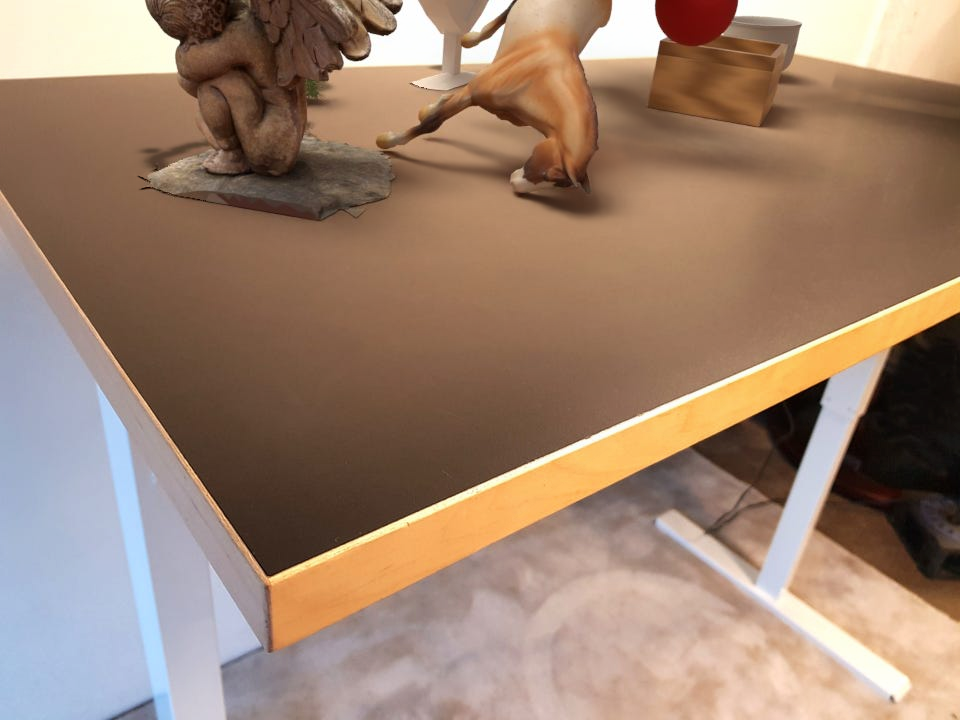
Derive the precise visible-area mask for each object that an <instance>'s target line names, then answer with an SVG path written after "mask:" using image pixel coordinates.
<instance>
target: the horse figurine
mask: <svg viewBox="0 0 960 720" xmlns="http://www.w3.org/2000/svg"><path fill="white" fill-rule="evenodd" d="M612 12H613V0H512V1H511V2H510V4H509V5H508V6H507V8H505V10H503V11H502V12H501V13H500V14H499V15H498V16H497V17H495V18H494V19H493V20H491V21H490V22H488V23H486V24H485V25H484V26H483V27H482V28H481V30H480V31H479V32H478V31H470V32H468V33H466V34H465V35H464V36H463V37H462V39H461V41H460V42H461V46H462V48H464V49H467V50H468V49H471V48H474V47H478V46H479V44H480V43H482V42H484V41H487V40H489V39H491V38H492V37H493V35H494V34H496V33H497V32H498V30H499V29H500V28H501V27H502V26H504V27H503V31H502V35H501V37H500V38H501V39H500V40H499V43H498V47H497V50H496V54H495V56H494V57H493V59H492V62H491V63H490V64H489V65H486V66H485V67H484V68H482V69H480V70H479V71H478V72H476V73H477V74H476V75H475V76H474V77H473V78H472V80H471V81H470V82H469V83H468V84H465V86H464V87H462V88H461V89H460V90H458V91H457V92H456V93H443V94H441V95H440V97H439V98H438V100H437V101H436V102H435V103H429V104H428V105H426V106H424V107H422V108H421V109H420V110H419V111H418V116H417V117H418V121H419V124H418V125H415V126H412V127H410V128H408V129H405V130H401V131H399V132H397V133H395V132H394V131H389V130H388V131H382V132H381V133H380V134H379V135H378V136H376V139H375V145H376V147H377V148H379V149H381V150H389V149H393V148H395V147H396V146H404V145H407V144H409V143H410V142H411V141H413V140H414V139H417V138H418V137H420V136H423V135H427V134H432V133H434V132H436V131H438V130H439V129H440V127H441V126H442V125H443V124H444V123H445V122H446V121H447V120H449V119H451V118H453V117H454V116H456V115H457V114H459V113H461V112H463V111H464V110H466V109H468V108H471V107H479V108H481V109H482V110H484V111H486V112H488V113H489V114H492V115H494V116H496V118H497V119H499V120H501V121H505V122H506V121H507V122H509V123H510V124H511V125H513V126H515V127H519V128H522V127H523V128H524V127H531V128H533V129H534V130H536V131H538V132H539V133H541V134H542V135H543V136H544V138H545V139H543V140H542V141H540V142H538V144H536V145H535V146H534V147H533V149H532V152H531V155H530V156H529V158H528V159H527V160H526V161H525V163H524V165H522V167H521V168H519V169H515V170H514V172H512V173H511V174H510V180H509V184H510V186H511V187H512V189H513V190H514V191H515V192H517V193H519V194H527V193H529V192H533V191H536V190H542V189H551V188H561V189H562V188H563V189H568V188H572V187H573V186H574V188H575V189H578V188H579V185H578V183H579V184H580V186H581V188H582V189H583V191H584V192H585V193H586V194H587V195H588V196H590V195H592V191H591V189H592V188H591V181H590V178H589V174H588V168H589V164H590V162H591V160H592V158H593V156H594V155H595V154H596V152H597V151H599V148H600V147H599V143H598V140H599V136H600V135H599V119H598V110H597V109H598V108H597V105H596V102H595V100H594V96H593V93H592V91H591V88H590V85H589V83H588V79H587V76H586V73H585V68H584V65H583V63H582V61H581V59H580V55H581V54H582V53H583V51H584V49H585V48H586V46H587V45H588V43H589V42H590V40H591V39H592V37H593V36H594V35H595V33H596V32H597V31H598V30H599V29H602V28H605V27H606V26H607V25H608V23H609V22H610V19H611V16H612Z"/></svg>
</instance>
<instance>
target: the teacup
mask: <svg viewBox="0 0 960 720" xmlns="http://www.w3.org/2000/svg"><path fill="white" fill-rule="evenodd" d="M802 26H803V23H802V22H801V21H799V20H794V19H789V18H783V17H774V16H760V15H759V16H757V15H735V16H734V19H733V21H732V22H731V24H730V26H729V27H728V28H727V30H726V31H725V32H724V33H723V34H722V35H725V36H732V37H739V38H746V39H753V40H760V41H767V42H774V43H781V44H788V48H787V52H786V56H785V59H784V63H783V67H782V71H781V73H782V72H783V71H785V70H786V69H788V68H789V66H790V65H791V63H792V61H793V58H794V55H795V52H796V48H797V44H798V40H799V34H800V31H801V28H802Z"/></svg>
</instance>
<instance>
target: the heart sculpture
mask: <svg viewBox="0 0 960 720" xmlns="http://www.w3.org/2000/svg"><path fill="white" fill-rule="evenodd" d="M417 1H418V3H419V5H420V6H421V8H422V11H423V12H424V14H425V15H426V18H428V20H430V22H431V24H433V25H434V27H435V28H436V29H437V31H438V32H439V34H440V35H443V44H442V45H443V46H442V61H441V62H442V63H441V73H438V74H435V75H431V76H428V77H427V76H426V77H424V78H420V79H418V80H414V81H411V82H412V83H413V84H415V85H418V86H419V87H418V86H417V87H418V88H421V87H424V88H423V89H426V88H427V90H435V91H448V90H451V89H455V88H458V87H462V86H464V85H465V86H466V85H467V84H468V83H469V82H470V81H471V80H472V78H473V77H474V76H475V75H476V74H477V73H478V72H476V71H475V72H474V71H466V70H461V65H462V51H463V47H462V46H461V42H460V41H461V39H462V37H463V36H464V35H465V34H466V33H468V32H472V29H473V28H474V26H476V24H477V22H478V21H479V19H480V17H481V16H482V14H483V13H484V11H485V9H486V7H487V5H488V3H489V1H490V0H417ZM415 85H414V86H415Z"/></svg>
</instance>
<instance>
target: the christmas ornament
mask: <svg viewBox="0 0 960 720" xmlns="http://www.w3.org/2000/svg"><path fill="white" fill-rule="evenodd" d="M738 6H739V0H654V14H655V15H654V16H655V18H656V19H655V20H656V22H657V25H658V26H659V28H660V30H661V31H662V33H663V34H664V35H665V36H666V38H667V37H668V38H669V39H671V40H672V41H674V42H675V43H677V44H680V45H684V46H701V45H704V44H707V43H710V42H712V41H713V40H715V39H717V38H718V37H719V36H721V35H723V33H724V32H725V31H726V30H727V28H728V27H729V26H730V24H731V22H732V21H733V19H734V16H736V14H737V10H738Z"/></svg>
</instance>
